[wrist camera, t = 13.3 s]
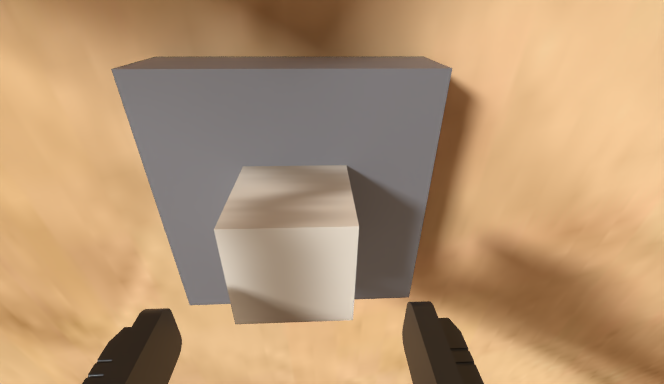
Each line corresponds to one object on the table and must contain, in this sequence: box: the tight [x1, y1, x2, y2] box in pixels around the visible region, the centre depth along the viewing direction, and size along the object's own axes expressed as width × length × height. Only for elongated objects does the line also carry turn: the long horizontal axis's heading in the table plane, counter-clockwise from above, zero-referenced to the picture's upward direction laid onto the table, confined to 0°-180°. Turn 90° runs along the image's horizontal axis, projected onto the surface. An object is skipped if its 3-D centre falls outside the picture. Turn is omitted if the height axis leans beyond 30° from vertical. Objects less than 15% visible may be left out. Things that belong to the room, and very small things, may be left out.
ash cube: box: [214, 165, 359, 324], centre depth 14 cm, size 5×5×5 cm
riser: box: [111, 57, 452, 305], centre depth 18 cm, size 14×14×4 cm
